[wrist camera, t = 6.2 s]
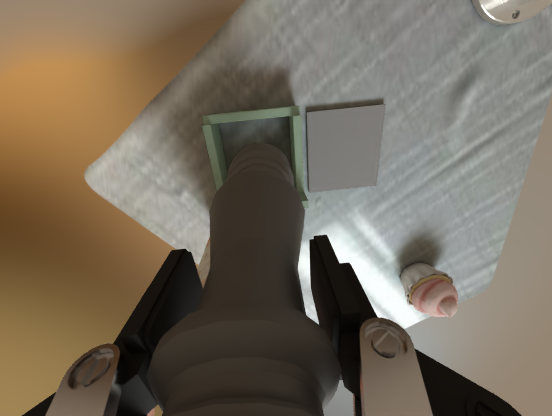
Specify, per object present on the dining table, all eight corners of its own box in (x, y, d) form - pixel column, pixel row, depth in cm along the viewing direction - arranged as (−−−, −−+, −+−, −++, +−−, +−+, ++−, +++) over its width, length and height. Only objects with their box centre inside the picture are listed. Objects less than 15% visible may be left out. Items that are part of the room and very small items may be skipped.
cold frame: (209, 114, 31) (192, 118, 24) (295, 105, 31) (305, 106, 24) (225, 194, 36) (216, 217, 29) (299, 186, 36) (308, 207, 29)
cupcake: (384, 273, 45) (414, 315, 36) (426, 247, 43) (469, 286, 34) (403, 297, 49) (435, 341, 40) (444, 275, 47) (487, 316, 38)
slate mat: (306, 112, 31) (306, 112, 31) (383, 104, 31) (385, 104, 31) (308, 191, 37) (309, 192, 36) (374, 184, 37) (376, 185, 36)
